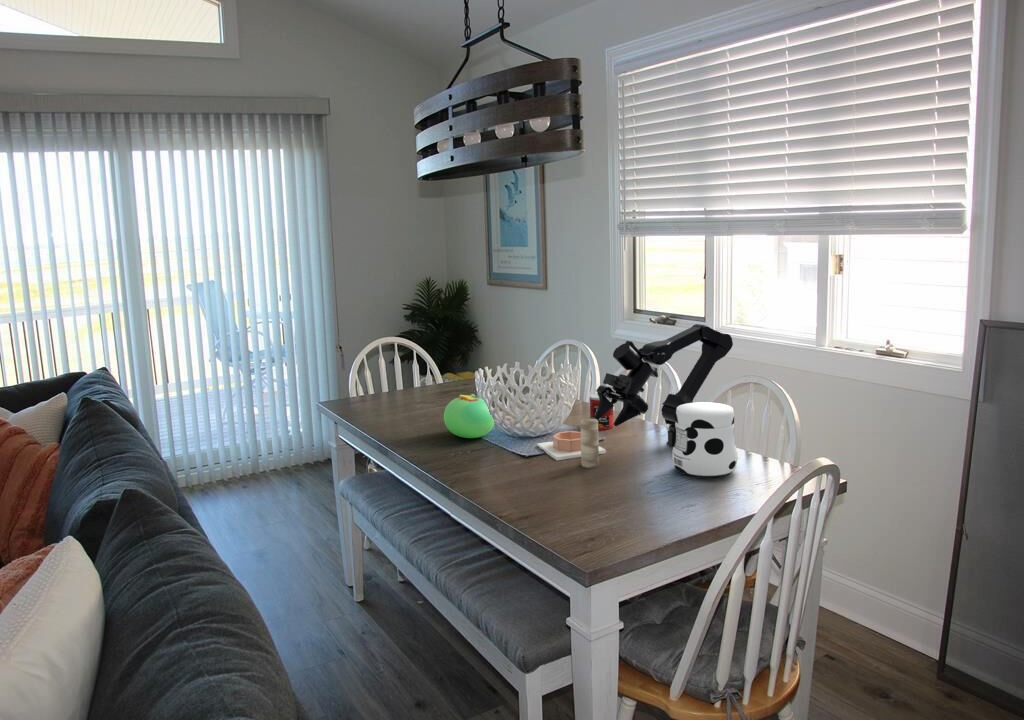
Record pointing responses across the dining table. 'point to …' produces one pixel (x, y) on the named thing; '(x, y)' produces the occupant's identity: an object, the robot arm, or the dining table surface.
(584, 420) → the beech peg
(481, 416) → the toy bird
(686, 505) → the dining table surface
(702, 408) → the milk container
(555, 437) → the octagonal ring base
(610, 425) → the canned food
